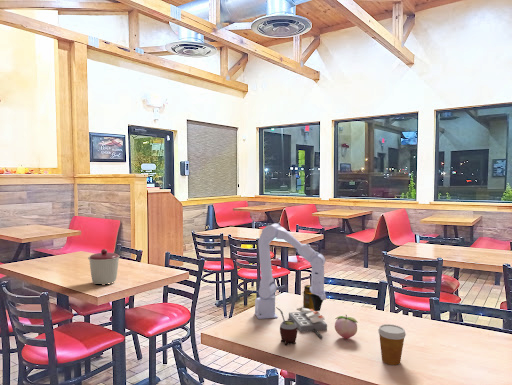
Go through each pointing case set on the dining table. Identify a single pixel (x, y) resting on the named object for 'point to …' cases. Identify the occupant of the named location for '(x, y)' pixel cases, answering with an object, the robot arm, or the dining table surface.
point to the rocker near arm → (307, 310)
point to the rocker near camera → (317, 319)
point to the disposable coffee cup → (391, 343)
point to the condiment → (307, 298)
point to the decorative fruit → (346, 326)
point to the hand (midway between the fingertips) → (317, 310)
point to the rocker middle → (312, 314)
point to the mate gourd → (288, 331)
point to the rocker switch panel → (307, 323)
